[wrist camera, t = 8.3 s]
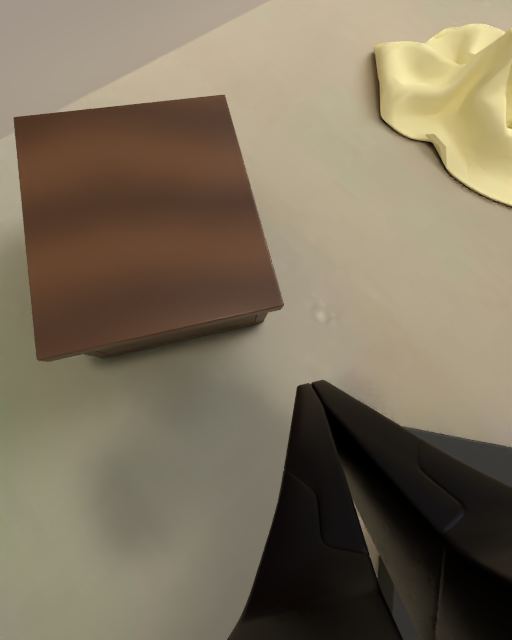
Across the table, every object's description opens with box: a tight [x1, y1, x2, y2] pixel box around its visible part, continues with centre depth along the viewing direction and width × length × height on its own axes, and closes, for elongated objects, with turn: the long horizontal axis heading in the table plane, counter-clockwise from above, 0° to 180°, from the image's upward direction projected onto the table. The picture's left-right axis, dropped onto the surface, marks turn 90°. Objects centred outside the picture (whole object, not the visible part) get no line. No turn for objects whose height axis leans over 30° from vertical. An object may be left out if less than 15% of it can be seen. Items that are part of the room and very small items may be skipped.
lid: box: [14, 95, 284, 362], centre depth 15 cm, size 13×12×1 cm
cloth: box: [374, 24, 512, 207], centre depth 25 cm, size 22×19×6 cm
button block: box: [379, 427, 512, 640], centre depth 18 cm, size 12×10×4 cm
